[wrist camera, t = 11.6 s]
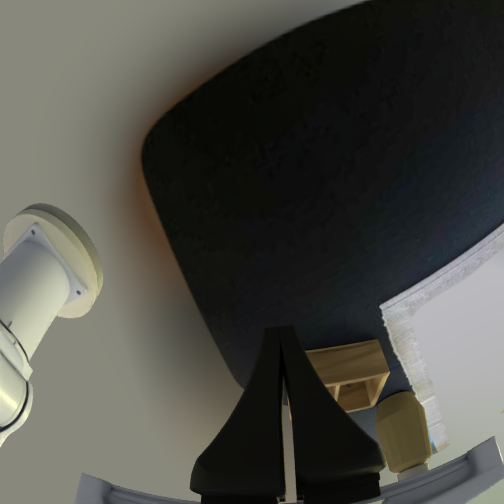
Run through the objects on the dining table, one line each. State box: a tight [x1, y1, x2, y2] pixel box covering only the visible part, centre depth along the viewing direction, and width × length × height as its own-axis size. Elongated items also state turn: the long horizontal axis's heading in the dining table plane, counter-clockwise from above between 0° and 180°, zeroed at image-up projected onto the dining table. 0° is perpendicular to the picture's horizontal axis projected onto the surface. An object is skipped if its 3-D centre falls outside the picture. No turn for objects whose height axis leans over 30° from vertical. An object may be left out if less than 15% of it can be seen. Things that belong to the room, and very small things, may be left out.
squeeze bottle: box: [375, 391, 432, 482], centre depth 27 cm, size 8×8×18 cm
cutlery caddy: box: [288, 339, 389, 421], centre depth 27 cm, size 8×10×4 cm
